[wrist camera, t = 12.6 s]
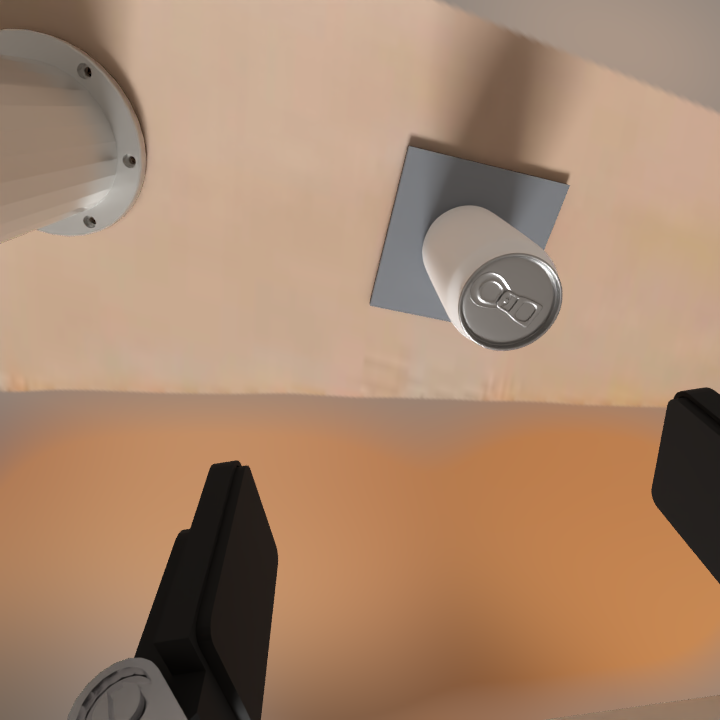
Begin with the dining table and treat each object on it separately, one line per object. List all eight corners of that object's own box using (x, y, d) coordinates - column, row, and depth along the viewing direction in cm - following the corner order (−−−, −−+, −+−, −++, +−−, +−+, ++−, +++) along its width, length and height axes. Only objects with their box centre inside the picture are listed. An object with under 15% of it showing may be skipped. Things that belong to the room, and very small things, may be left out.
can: (452, 186, 34) (498, 221, 24) (523, 231, 36) (596, 282, 25) (404, 263, 37) (427, 326, 26) (472, 302, 39) (519, 375, 28)
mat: (369, 302, 39) (370, 305, 39) (408, 145, 34) (409, 146, 33) (508, 330, 40) (510, 333, 40) (566, 184, 35) (569, 185, 35)
